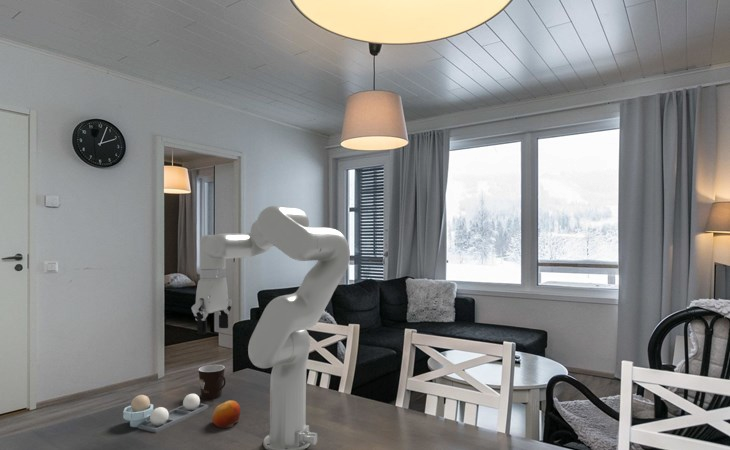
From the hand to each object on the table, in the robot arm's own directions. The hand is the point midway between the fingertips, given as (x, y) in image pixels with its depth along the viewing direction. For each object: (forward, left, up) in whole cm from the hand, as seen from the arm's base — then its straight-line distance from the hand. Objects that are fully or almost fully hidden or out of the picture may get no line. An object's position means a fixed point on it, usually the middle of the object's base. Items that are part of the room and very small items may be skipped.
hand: (213, 330), depth 139 cm
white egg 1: (+9, +12, -26) cm, 30 cm away
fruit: (-8, +2, -27) cm, 28 cm away
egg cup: (+15, +13, -27) cm, 33 cm away
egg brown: (+15, +13, -23) cm, 31 cm away
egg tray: (+9, +5, -27) cm, 29 cm away
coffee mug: (+11, -13, -27) cm, 32 cm away
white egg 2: (+9, -1, -26) cm, 28 cm away
